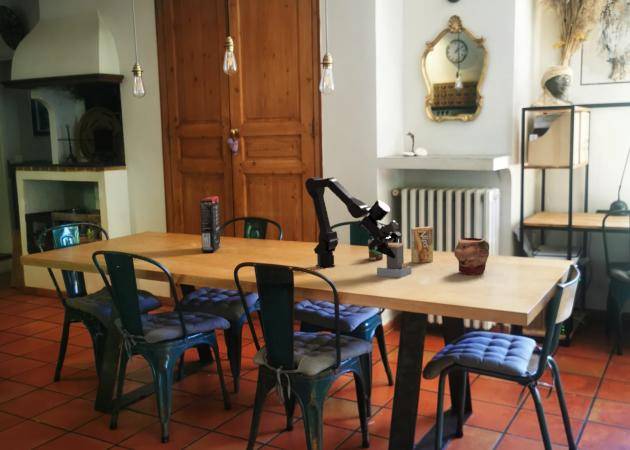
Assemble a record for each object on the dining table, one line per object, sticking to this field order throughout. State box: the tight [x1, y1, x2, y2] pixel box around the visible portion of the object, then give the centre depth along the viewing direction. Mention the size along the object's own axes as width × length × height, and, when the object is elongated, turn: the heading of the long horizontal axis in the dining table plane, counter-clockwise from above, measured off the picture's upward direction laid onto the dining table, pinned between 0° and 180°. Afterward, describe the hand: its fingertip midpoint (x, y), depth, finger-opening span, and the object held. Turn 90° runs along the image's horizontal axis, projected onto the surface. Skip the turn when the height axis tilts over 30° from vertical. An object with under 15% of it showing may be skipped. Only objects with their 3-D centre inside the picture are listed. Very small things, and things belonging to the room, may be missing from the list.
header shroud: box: [376, 262, 413, 279], centre depth 270 cm, size 11×9×5 cm
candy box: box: [410, 226, 434, 264], centre depth 292 cm, size 9×4×15 cm, turn 104°
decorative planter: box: [453, 237, 490, 276], centre depth 268 cm, size 20×12×14 cm, turn 134°
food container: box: [367, 237, 384, 262], centre depth 301 cm, size 12×6×10 cm, turn 161°
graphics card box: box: [199, 195, 221, 253], centre depth 339 cm, size 17×7×27 cm, turn 178°
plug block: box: [386, 242, 405, 270], centre depth 269 cm, size 5×5×12 cm
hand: (398, 256), depth 268 cm, fingers open, 5 cm apart
